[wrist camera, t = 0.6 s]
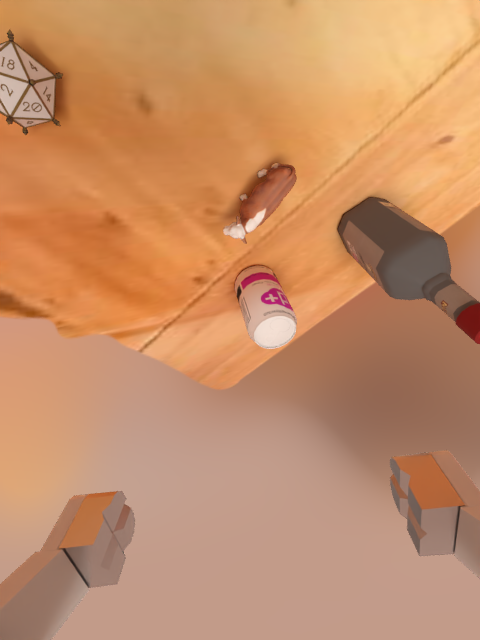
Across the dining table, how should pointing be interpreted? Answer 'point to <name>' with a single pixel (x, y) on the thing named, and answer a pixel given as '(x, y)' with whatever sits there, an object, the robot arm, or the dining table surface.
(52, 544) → the robot arm
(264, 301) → the supplement can
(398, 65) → the dining table surface
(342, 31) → the dining table surface
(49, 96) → the game die
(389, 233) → the liquor
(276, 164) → the bull figurine
